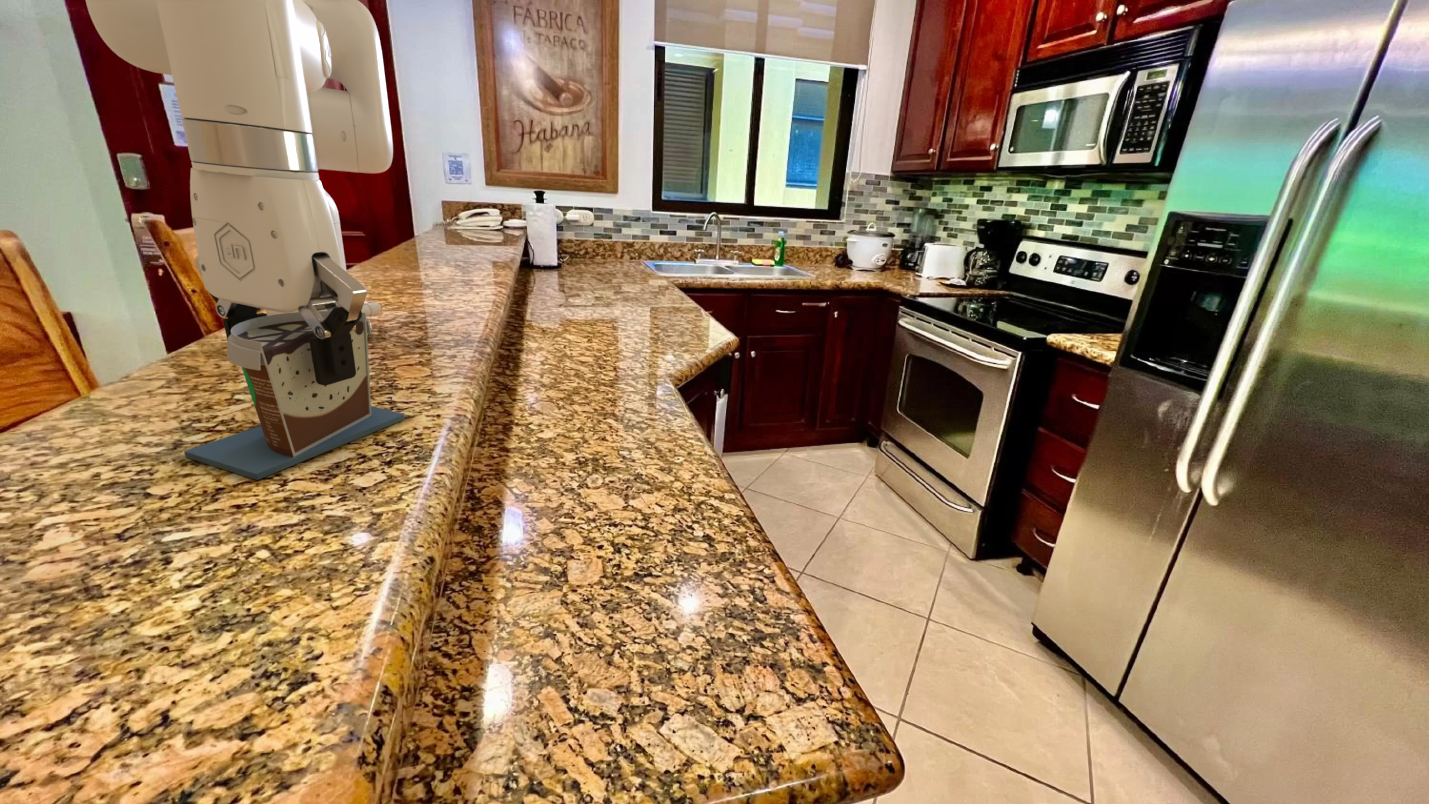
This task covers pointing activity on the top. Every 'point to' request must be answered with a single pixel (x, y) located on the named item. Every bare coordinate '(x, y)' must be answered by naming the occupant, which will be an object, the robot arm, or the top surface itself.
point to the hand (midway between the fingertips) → (294, 370)
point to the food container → (298, 381)
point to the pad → (258, 460)
